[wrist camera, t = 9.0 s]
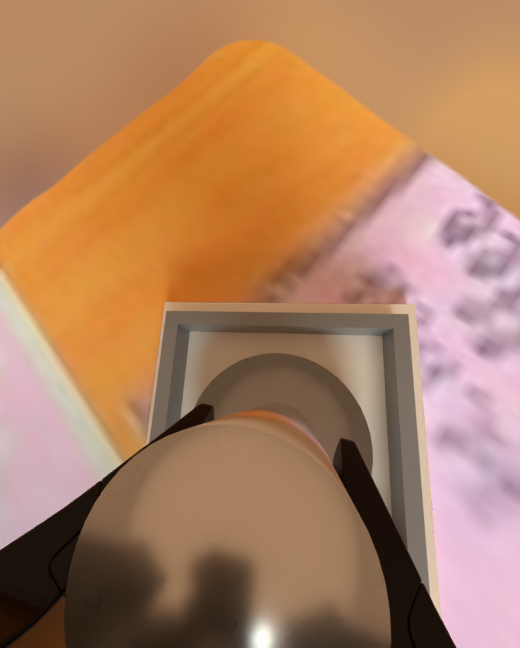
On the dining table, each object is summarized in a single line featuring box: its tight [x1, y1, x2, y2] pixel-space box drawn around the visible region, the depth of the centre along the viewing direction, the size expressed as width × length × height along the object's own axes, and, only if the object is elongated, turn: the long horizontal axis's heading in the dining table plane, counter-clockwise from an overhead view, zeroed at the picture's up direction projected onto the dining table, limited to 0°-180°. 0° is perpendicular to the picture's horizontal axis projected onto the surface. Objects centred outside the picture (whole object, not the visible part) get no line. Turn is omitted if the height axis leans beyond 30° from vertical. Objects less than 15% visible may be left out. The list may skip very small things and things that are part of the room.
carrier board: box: [146, 302, 441, 617], centre depth 16 cm, size 16×16×3 cm
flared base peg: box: [64, 353, 391, 648], centre depth 9 cm, size 9×9×12 cm
